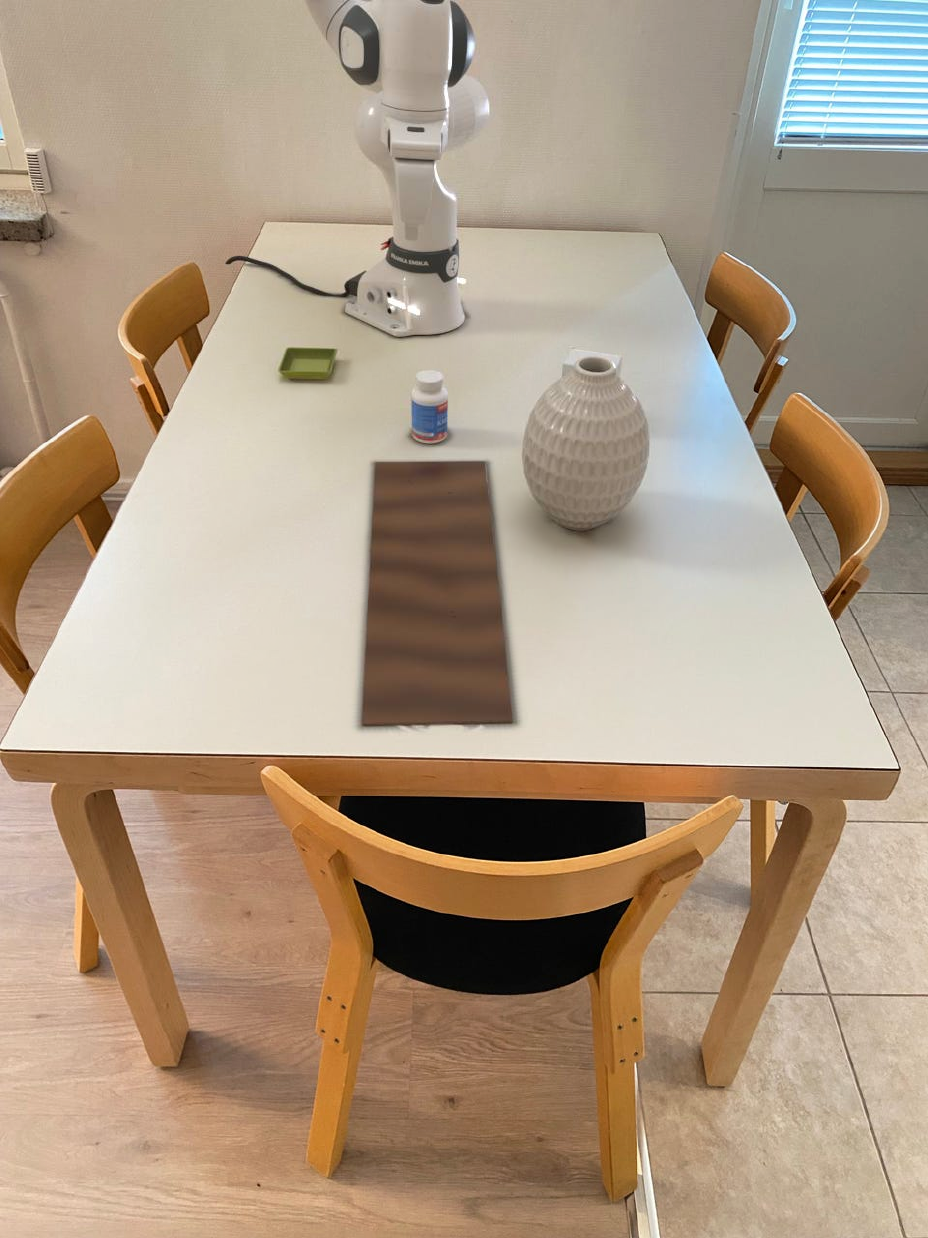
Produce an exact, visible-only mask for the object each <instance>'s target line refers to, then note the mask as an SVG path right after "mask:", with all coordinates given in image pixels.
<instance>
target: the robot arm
mask: <svg viewBox="0 0 928 1238" xmlns="http://www.w3.org/2000/svg"><path fill="white" fill-rule="evenodd" d="M304 2H305V4H306V7H307V8H308V10H309V13H310V15H311V16H312V19H313V21H314V22H315V25H316V26H317V28H318V30H319V31H320V33H321V34H322V36H323V37H324V39H325V40H326V42H327V43H328V45H329V46H330V48H331V49H332V51H333V52H334V54H335V56H336V57H337V58H338V59H339V61H340V65H341V66H342V68H343V69H344V71H345V73H346V74H347V75H348V76H349V78H350V79H351V80H352V81H353V82H354V83H356V84H357V85H359V86H360V87H362V88H364V89H365V90H367V91H371V92H374V93H375V94H373V95H372V96H370V97H368V98H366V99H365V100H363V101H362V102H361V103H360V104H359V106H358V107H357V109H356V112H355V117H354V123H353V125H354V136H355V140H356V142H357V145H358V147H359V149H360V151H361V152H362V154H363V155H364V157H365V158H366V159H367V160H368V161H369V162H371V163H372V164H373V165H374V166H376V167H377V168H378V170H379V171H380V172H381V174H382V176H383V178H384V180H385V182H386V183H385V184H386V185H387V189H388V192H389V198H390V202H391V203H390V204H391V217H392V218H391V220H392V236H391V237H389V238H388V240H386V241H384V242H382V243H380V246H381V248H380V250H381V251H384V250H386V249H387V248H388V249H387V251H386V254H385V257H384V258H382V259H381V260H380V261H378V262H377V263H376V264H374V265H373V266H372V267H370V268H368V270H363V271H362V272H360V273H358V274H356V275H355V276H353V277H351V278H349V279H348V280H346V281H345V283H344V290H345V291H344V292H343V293H339V294H333V293H329V292H325V291H323V290H320V289H319V288H315V287H314V286H310V285H307V284H304V283H302V282H300V281H299V280H298V279H297V278H295V277H294V276H293V275H291V274H290V273H288V272H287V271H284V270H283V269H281V268H280V267H278V266H276V265H274V264H272V263H269V262H266V261H262V260H259V259H255V258H252V257H250V256H249V257H248V256H244V255H235V256H232V257H230V258H228V259H227V260H226V261H225V263H224V264H225V265H231V264H232V263H234V262H238V261H242V262H247V263H250V264H254V265H256V266H260V267H263V268H266V269H269V270H271V271H274V272H276V273H277V274H279V275H281V276H282V277H284V278H286V279H287V280H289V281H290V282H291V283H293V284H294V285H295V286H297V287H298V288H300V289H302V290H304V291H307V292H310V293H312V294H315V295H318V296H322V297H334V298H335V297H336V298H347V297H348V296H352V297H351V298H350V299H349V300H348V301H346V304H345V308H344V312H345V313H346V314H348V315H350V316H351V317H353V318H356V319H358V320H361V321H362V322H364V323H366V324H369V325H370V326H373V327H375V328H377V329H379V330H380V331H383V332H385V333H387V334H389V335H390V336H393V337H399V338H401V337H409V336H415V335H418V336H421V335H422V336H423V335H438V334H444V333H447V332H450V331H451V332H452V331H453V330H455V329H457V328H459V327H460V326H462V325H463V323H464V322H465V319H466V316H465V313H464V309H463V305H462V301H461V300H462V299H461V295H460V288H459V287H460V286H459V283H460V284H466V279H465V278H460V277H459V276H458V275H459V269H460V268H459V265H460V240H459V239H458V198H457V195H456V192H455V191H454V189H453V188H452V187H451V185H449V183H447V182H445V181H444V180H442V179H440V177H439V173H438V168H437V161H440V160H441V157H442V154H443V153H446V152H450V151H454V150H457V149H460V148H463V147H464V146H466V145H468V144H469V143H471V142H472V141H474V140H475V139H477V138H478V137H479V136H480V135H482V134H483V133H484V131H485V130H486V128H487V126H488V123H489V120H490V102H489V98H488V95H487V92H486V90H485V88H484V86H483V85H482V84H481V83H480V82H479V81H478V80H477V78H475V77H473V76H470V75H467V74H466V73H467V71H468V70H469V68H470V67H471V64H472V61H473V59H474V55H475V50H476V39H475V34H474V30H473V27H472V24H471V22H470V19H469V18H468V16H467V15H466V13H465V12H464V10H463V9H462V8H461V6H460V5H459V4H458V3H456V2H455V1H453V0H304Z"/></svg>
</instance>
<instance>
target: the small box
mask: <svg viewBox="0 0 928 1238" xmlns="http://www.w3.org/2000/svg"><path fill="white" fill-rule="evenodd" d="M591 356H595V357H602V358H605V359H608V360H610V361H611V362H612V363H614V365H615V367H616V373H617V375H618V376H619V377H620V378H621V372H622V363H623V356H622V355H615V354H610V353H603V352H597V351H590V350H584V349H578V348H572V349H571V350H570V352H569V353H568V355H567V356H566V358H565V360H564V361H563V363H562V368H561V369H562V370H561V372H562V373H561V378H562V377H563V376H565V375H566V374H567V373H569V372H570V371H571V370H573V368H574V365H575V362H576V361H578V360H579V359H581V358H584V357H591Z"/></svg>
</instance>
